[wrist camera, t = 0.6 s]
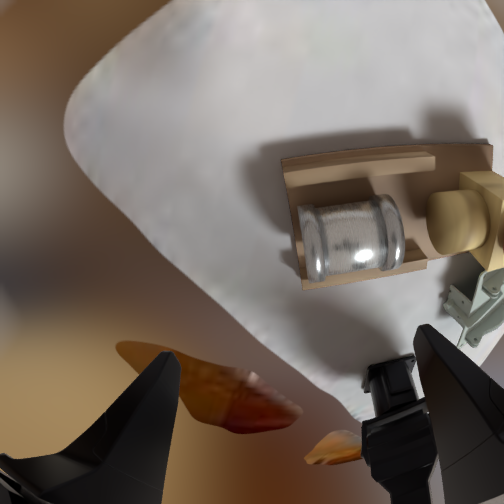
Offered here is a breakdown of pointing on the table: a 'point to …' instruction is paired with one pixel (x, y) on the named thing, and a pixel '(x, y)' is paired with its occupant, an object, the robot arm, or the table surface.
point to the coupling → (352, 237)
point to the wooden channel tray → (409, 200)
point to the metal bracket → (478, 307)
